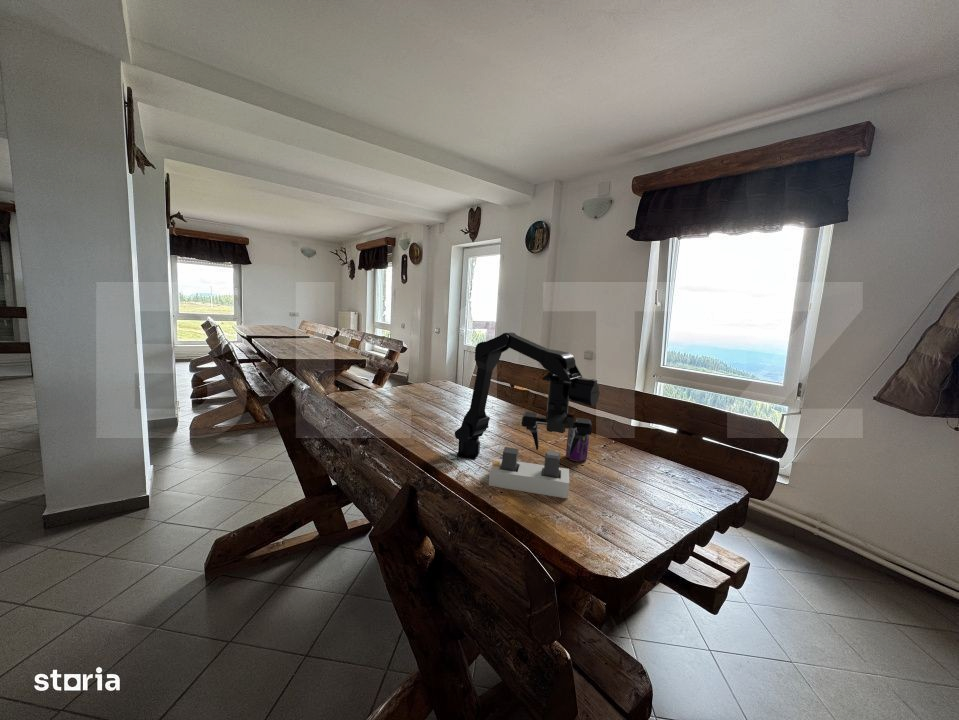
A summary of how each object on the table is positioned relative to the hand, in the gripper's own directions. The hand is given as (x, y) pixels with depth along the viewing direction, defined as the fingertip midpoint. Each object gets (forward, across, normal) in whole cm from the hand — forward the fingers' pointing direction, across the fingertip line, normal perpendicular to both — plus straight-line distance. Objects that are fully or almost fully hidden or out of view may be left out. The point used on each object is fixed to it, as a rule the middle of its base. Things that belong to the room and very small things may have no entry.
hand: (553, 451), depth 103 cm
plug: (+9, 0, 0) cm, 9 cm away
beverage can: (+11, +8, +24) cm, 28 cm away
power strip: (+11, -6, 0) cm, 13 cm away
